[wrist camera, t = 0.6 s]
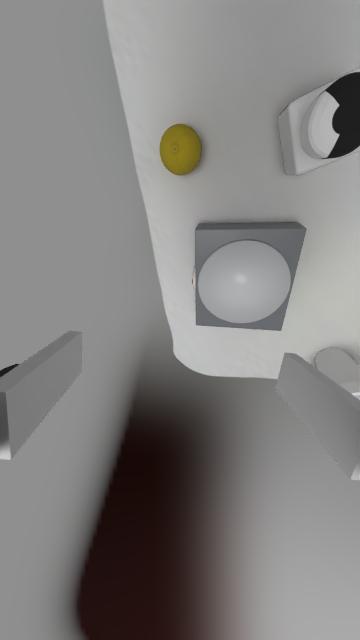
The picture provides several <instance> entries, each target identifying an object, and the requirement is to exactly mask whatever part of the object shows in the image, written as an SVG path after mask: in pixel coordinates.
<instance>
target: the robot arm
mask: <svg viewBox="0 0 360 640" xmlns="http://www.w3.org/2000/svg"><path fill="white" fill-rule="evenodd" d="M81 365H82V332H77V331H68V332H67V333H65V334H64V335H62V336H61V337H59V338H58V339H57V340H55V341H54V342H52V343H51V344H49V345H48V346H46V347H45V348H43V349H42V350H40V351H39V352H38V353H36V354H34V355H33V356H31V357H30V358H28V359H27V360H26V361H24V362H23V363H21V364H15V365H12V366H9V367H7V368H4V369H3V370H1V371H0V459H8V460H11V459H12V458H13V456H14V455H15V454H16V452H17V451H18V450H19V449H20V448H21V447H22V445H23V444H24V443H25V442H26V440H27V439H28V438H29V437H30V435H31V434H32V433H33V432H34V430H35V429H36V428H37V427H38V426H39V424H40V423H41V422H42V420H43V419H44V418H45V416H47V414H48V413H49V412H50V411H51V409H52V408H53V407H54V406H55V404H56V403H57V402H58V401H59V399H60V398H61V397H62V396H63V394H64V393H65V392H66V391H67V389H68V388H69V387H70V386H71V384H72V383H73V382H74V381H75V380H76V378H77V377H78V376H79V375H80V373H81ZM275 390H276V391H277V392H278V393H279V394H280V396H281V397H282V398H283V399H284V401H285V402H286V403H287V404H288V405H289V406H290V408H291V409H292V410H293V411H294V412H295V414H296V415H297V416H298V417H299V419H300V420H301V421H302V422H303V423H304V424H305V426H306V427H307V428H308V429H309V431H310V432H311V433H312V434H313V435H314V436H315V438H316V439H317V440H318V441H319V443H320V444H321V445H322V446H323V447H324V449H325V450H326V451H327V452H328V453H329V455H330V456H331V457H332V458H333V459H334V461H335V462H336V463H337V464H338V465H339V467H340V468H341V469H342V470H343V471H344V473H345V474H346V475H347V476H348V477H349V479H351V480H360V400H359V399H358V398H356V397H355V396H354V395H352V394H351V393H349V392H348V391H347V390H345V389H344V388H342V387H341V386H340V385H338V384H337V383H336V382H334V381H333V380H331V379H330V378H329V377H327V376H326V375H324V374H323V373H322V372H320V371H319V370H318V369H316V368H315V367H313V366H312V365H311V364H309V363H308V362H307V361H305V360H304V359H302V358H301V357H300V356H298V355H297V354H294V353H284V357H283V361H282V365H281V369H280V373H279V377H278V381H277V385H276V388H275Z"/></svg>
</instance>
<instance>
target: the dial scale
mask: <svg viewBox="0 0 360 640" xmlns="http://www.w3.org/2000/svg"><path fill="white" fill-rule="evenodd" d="M305 233H306V228H305V227H303V226H302V225H301V224H299V223H298V222H280V223H217V224H198V226H197V228H196V229H195V267H194V272H193V280H192V283H193V288H194V290H196V325H201V326H216V327H231V328H246V329H262V330H277V331H281V329H282V325H283V321H284V317H285V313H286V309H287V305H288V301H289V297H290V293H291V289H292V285H293V281H294V277H295V273H296V269H297V265H298V261H299V257H300V253H301V249H302V245H303V241H304V237H305Z"/></svg>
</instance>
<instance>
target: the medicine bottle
mask: <svg viewBox="0 0 360 640" xmlns="http://www.w3.org/2000/svg"><path fill="white" fill-rule="evenodd" d="M278 126H279V133H280V140H281V147H282V154H283V161H284V168H285V173H286V175H301V174H304V173H306V172H308V171H311V170H313V169H316V168H318V167H321V166H323V165H326V164H328V163H330V162H333V161H335V160H338V159H340V158H343V157H345V156H347V155H350V154H352V153H355V152H357V151H360V66H359V67H357V68H356V69H354V70H352V71H350V72H348V73H346V74H344V75H342V76H340V77H338V78H336V79H334V80H333V81H331V82H329V83H327V84H325V85H323V86H321V87H319V88H317V89H315V90H313V91H311V92H310V93H308V94H306V95H304V96H302V97H300V98H298V99H296V100H294V101H292V102H291V103H289V105H288V106H287V107H286V108H285V109H284V110H283V111H282V113H281V114H280V115H279V116H278Z"/></svg>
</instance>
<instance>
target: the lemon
mask: <svg viewBox="0 0 360 640" xmlns="http://www.w3.org/2000/svg"><path fill="white" fill-rule="evenodd" d="M160 156H161V159H162V162H163V164H164V166H165V167H166V168H167V169H168V170H169V171H170V172H172V173H173V174H176V175H185V174H188V173H190V172H191V171H193V169H194V168H195V167H196V166H197V164H198V162H199V159H200V156H201V144H200V140H199V137H198V135H197V134H196V132H195V131H194V130H193V129H192V128H191V127H189V126H187V125H185V124H176V125H173V126H171V127H170V128H168V129H167V131H166V132H165V133H164V135H163V136H162V139H161V142H160Z"/></svg>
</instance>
